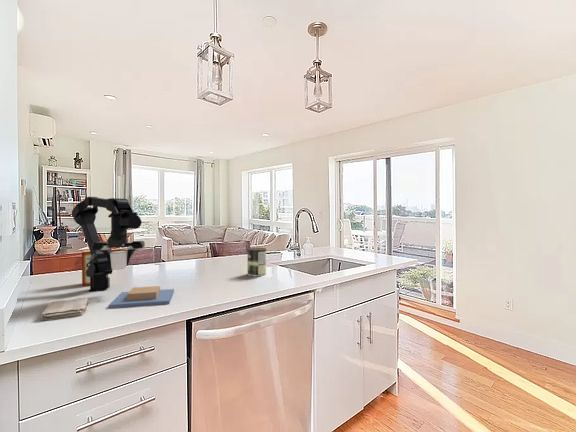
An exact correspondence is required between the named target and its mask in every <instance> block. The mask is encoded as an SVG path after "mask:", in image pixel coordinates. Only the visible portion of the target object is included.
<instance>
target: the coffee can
mask: <svg viewBox="0 0 576 432" xmlns="http://www.w3.org/2000/svg"><path fill="white" fill-rule="evenodd" d="M246 275H247V276H249V277H264V276H266V275H267V248H266V247H249V248H247V274H246Z"/></svg>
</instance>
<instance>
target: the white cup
mask: <svg viewBox="0 0 576 432" xmlns="http://www.w3.org/2000/svg"><path fill="white" fill-rule="evenodd" d="M127 255H128V251H127V250H119V251H118V250H116V251H112V252H110V259H111V268H112V270H114V271H120V270H121V271H122V270H126V269H127V268H128V265H127Z"/></svg>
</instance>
